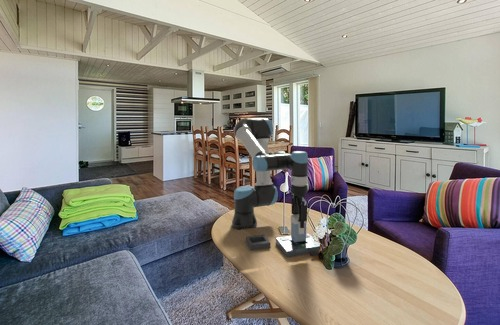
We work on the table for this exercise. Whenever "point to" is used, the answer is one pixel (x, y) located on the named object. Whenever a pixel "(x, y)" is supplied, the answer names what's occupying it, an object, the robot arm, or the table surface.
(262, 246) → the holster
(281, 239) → the port panel
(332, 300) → the table surface
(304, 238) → the plug
